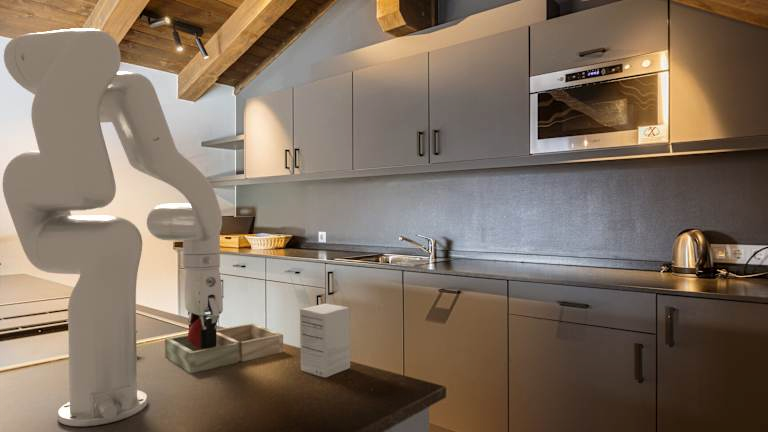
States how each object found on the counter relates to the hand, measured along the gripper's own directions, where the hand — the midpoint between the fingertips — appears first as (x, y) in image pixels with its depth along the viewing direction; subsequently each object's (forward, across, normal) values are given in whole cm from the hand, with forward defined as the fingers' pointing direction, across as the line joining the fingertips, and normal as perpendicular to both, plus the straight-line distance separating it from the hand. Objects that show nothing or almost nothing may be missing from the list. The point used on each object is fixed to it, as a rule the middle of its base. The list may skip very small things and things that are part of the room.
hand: (202, 343), depth 105 cm
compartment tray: (+3, 0, -5) cm, 6 cm away
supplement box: (+4, -24, -16) cm, 29 cm away
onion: (+2, 0, 0) cm, 2 cm away
